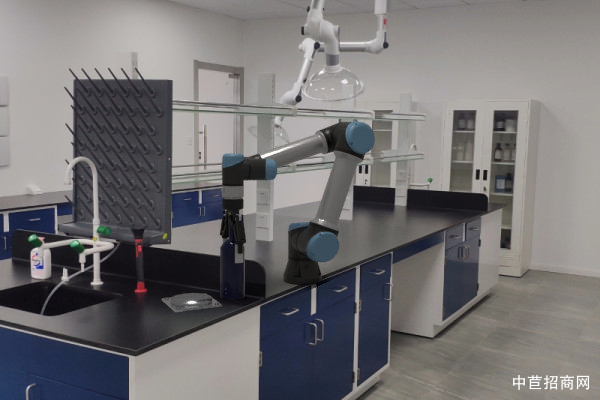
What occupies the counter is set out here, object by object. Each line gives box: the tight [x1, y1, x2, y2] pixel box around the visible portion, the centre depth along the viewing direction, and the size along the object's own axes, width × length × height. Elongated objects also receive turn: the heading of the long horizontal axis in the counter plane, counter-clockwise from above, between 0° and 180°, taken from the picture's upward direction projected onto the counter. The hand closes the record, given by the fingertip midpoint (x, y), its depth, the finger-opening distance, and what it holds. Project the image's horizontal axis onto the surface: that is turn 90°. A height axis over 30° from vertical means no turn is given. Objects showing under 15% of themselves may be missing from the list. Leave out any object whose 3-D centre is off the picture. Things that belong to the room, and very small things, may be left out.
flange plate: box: [161, 292, 223, 313], centre depth 212 cm, size 16×16×2 cm
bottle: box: [219, 212, 246, 300], centre depth 221 cm, size 9×9×30 cm
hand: (232, 259), depth 221 cm, fingers open, 11 cm apart
